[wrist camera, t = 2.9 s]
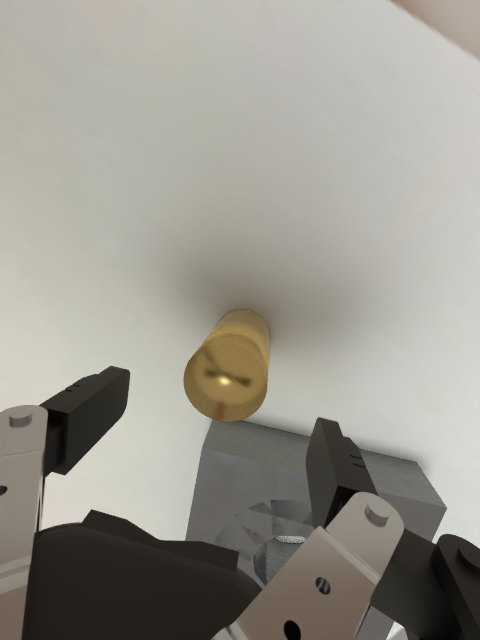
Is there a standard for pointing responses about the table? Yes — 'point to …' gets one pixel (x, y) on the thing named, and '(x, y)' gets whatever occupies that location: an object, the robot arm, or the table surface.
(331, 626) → the robot arm
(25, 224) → the table surface
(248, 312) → the brass peg
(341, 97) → the table surface
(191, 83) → the table surface
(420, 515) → the jig
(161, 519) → the table surface
